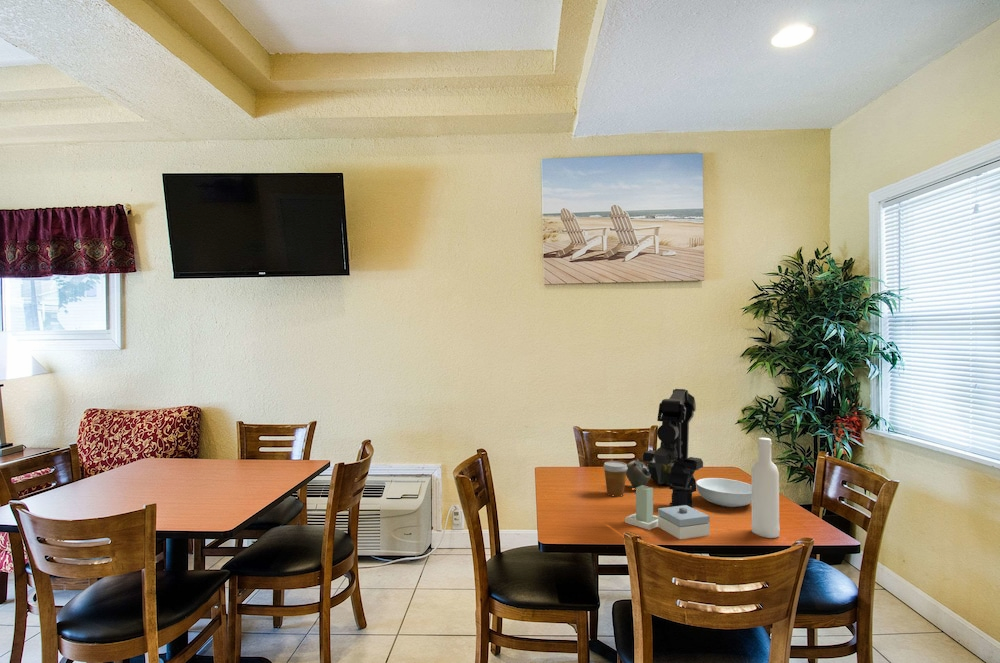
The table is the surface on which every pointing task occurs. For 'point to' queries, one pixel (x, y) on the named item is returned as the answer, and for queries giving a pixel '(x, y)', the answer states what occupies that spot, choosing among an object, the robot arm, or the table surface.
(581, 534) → the table surface
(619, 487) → the disposable coffee cup
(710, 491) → the serving bowl
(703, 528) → the lidded well
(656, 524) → the post well
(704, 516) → the lid
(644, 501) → the sage post
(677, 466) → the robot arm
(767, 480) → the bottle
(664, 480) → the squash
